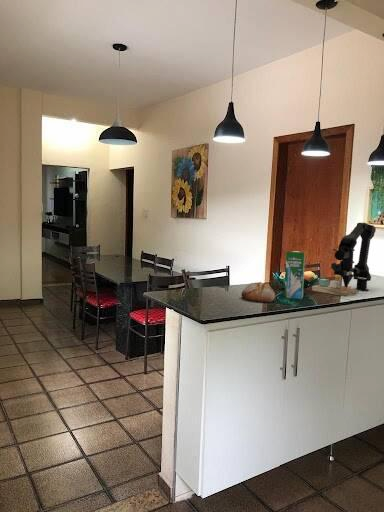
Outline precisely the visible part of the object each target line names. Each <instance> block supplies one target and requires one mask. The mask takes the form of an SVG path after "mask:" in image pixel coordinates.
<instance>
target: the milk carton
mask: <svg viewBox="0 0 384 512" xmlns="http://www.w3.org/2000/svg"><path fill="white" fill-rule="evenodd" d="M305 254H306V253H305V252H301V251H297V250H293V251H286V253H285V273H284V274H285V286H284V296H283V297H284V299H293V300H303V297H304V284H305V283H304V281H305V264H306V263H305V262H306V261H305V260H306V255H305Z"/></svg>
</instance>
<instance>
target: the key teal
mask: <svg viewBox="0 0 384 512" xmlns="http://www.w3.org/2000/svg"><path fill="white" fill-rule="evenodd" d="M318 285H320V286H329V285H330V280H329V279H327V278H320V279H319V280H318Z"/></svg>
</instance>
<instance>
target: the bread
mask: <svg viewBox="0 0 384 512" xmlns="http://www.w3.org/2000/svg"><path fill="white" fill-rule="evenodd" d="M241 297H242V298H243V299H244V300H245V299H246V300H245V301H248V300H250V302H252V301H253V302H254V301H257V302H256V303H265V302H268V303H271V302H273V301H274V300H275V298H276V293H275V291H274V289H273V288H272V287H271V286H270V284H268V283H267V284H266V283H262V282H261V281H259V282H250V283H249V284H248V285H247V286H246V287H244V288H243V290H242V291H241Z"/></svg>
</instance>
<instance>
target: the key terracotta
mask: <svg viewBox="0 0 384 512" xmlns="http://www.w3.org/2000/svg"><path fill="white" fill-rule="evenodd" d="M340 287H341V290H346V291H349V290H351V289H352V286H349V285H348V286H347V287H345V285H342V286H340Z"/></svg>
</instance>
